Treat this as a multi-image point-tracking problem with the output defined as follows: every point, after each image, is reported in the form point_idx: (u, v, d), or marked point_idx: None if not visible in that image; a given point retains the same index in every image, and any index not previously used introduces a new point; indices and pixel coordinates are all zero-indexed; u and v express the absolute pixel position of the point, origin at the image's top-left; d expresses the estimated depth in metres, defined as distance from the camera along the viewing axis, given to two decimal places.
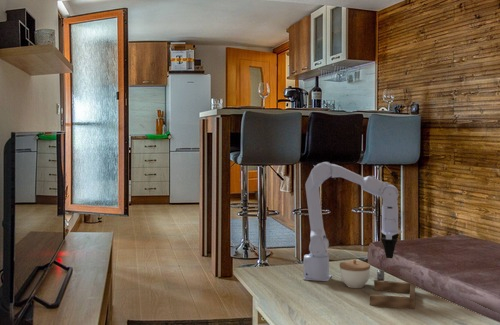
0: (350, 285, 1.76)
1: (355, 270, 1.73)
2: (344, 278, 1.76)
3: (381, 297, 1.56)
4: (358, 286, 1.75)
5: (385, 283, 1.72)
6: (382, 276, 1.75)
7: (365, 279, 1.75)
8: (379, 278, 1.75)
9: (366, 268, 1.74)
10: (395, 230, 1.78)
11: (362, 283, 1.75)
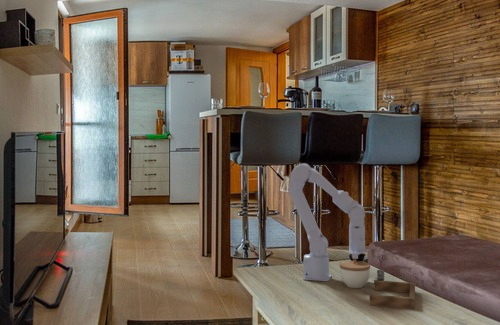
0: (350, 285, 1.76)
1: (355, 270, 1.73)
2: (344, 278, 1.76)
3: (381, 297, 1.56)
4: (358, 286, 1.75)
5: (385, 283, 1.72)
6: (382, 276, 1.75)
7: (365, 279, 1.75)
8: (379, 278, 1.75)
9: (366, 268, 1.74)
10: (362, 249, 1.83)
11: (362, 283, 1.75)
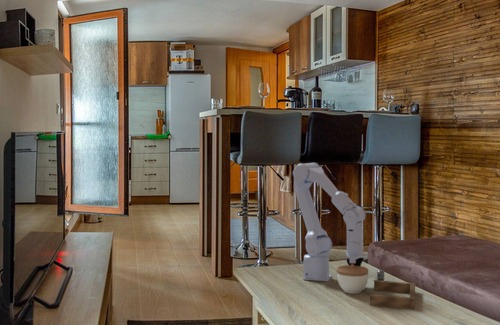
0: (347, 291, 1.69)
1: (352, 275, 1.67)
2: (341, 283, 1.70)
3: (381, 297, 1.56)
4: (355, 291, 1.69)
5: (385, 283, 1.72)
6: (382, 276, 1.75)
7: (363, 285, 1.68)
8: (379, 278, 1.75)
9: (364, 273, 1.68)
10: (360, 253, 1.76)
11: (360, 289, 1.68)
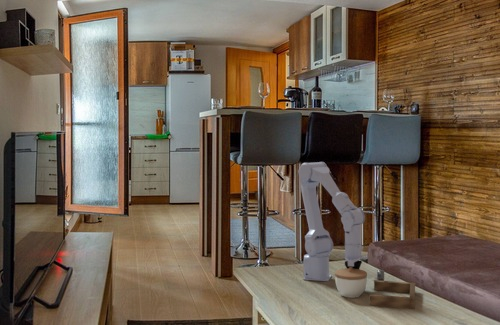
0: (346, 294, 1.65)
1: (351, 279, 1.63)
2: (339, 287, 1.65)
3: (381, 297, 1.56)
4: (354, 295, 1.65)
5: (385, 283, 1.72)
6: (382, 276, 1.75)
7: (362, 289, 1.64)
8: (379, 278, 1.75)
9: (363, 276, 1.64)
10: (358, 256, 1.72)
11: (358, 292, 1.64)
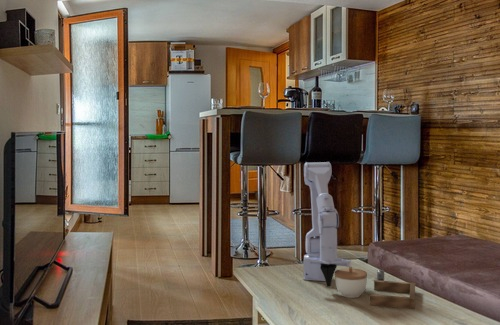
0: (346, 295, 1.65)
1: (351, 279, 1.63)
2: (339, 287, 1.65)
3: (381, 297, 1.56)
4: (354, 295, 1.65)
5: (385, 283, 1.72)
6: (382, 276, 1.75)
7: (362, 289, 1.64)
8: (379, 278, 1.75)
9: (363, 277, 1.64)
10: (321, 259, 1.69)
11: (358, 292, 1.64)
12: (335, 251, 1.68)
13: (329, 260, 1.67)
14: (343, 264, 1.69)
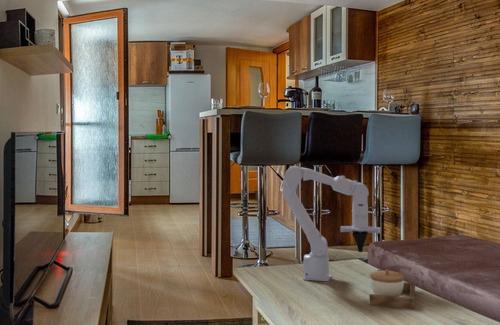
0: None
1: (388, 281, 1.59)
2: (376, 290, 1.62)
3: (381, 297, 1.56)
4: None
5: None
6: None
7: (399, 292, 1.60)
8: None
9: (400, 279, 1.60)
10: (354, 226, 1.85)
11: None
12: (366, 219, 1.84)
13: (361, 227, 1.83)
14: (374, 231, 1.84)
